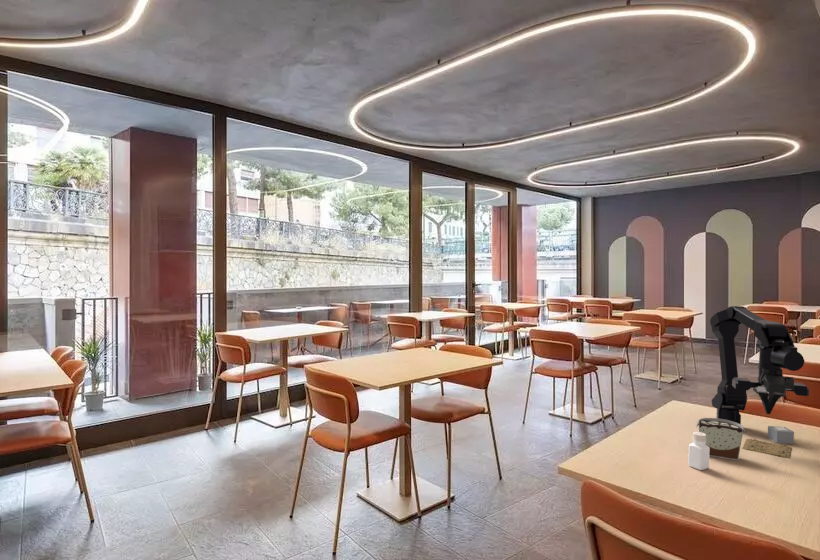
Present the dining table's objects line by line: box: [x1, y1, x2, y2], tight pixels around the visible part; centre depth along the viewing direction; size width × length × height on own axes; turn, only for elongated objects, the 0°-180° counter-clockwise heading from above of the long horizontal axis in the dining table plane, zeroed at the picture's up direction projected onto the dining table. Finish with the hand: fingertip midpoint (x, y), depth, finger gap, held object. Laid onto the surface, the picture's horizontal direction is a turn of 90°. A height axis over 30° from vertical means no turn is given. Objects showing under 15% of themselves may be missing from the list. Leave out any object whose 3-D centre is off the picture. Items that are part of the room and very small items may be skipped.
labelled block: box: [767, 425, 795, 445], centre depth 162 cm, size 5×5×4 cm
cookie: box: [741, 438, 793, 460], centre depth 155 cm, size 12×12×1 cm
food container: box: [695, 417, 746, 461], centre depth 150 cm, size 12×6×10 cm, turn 65°
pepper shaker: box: [687, 431, 710, 471], centre depth 139 cm, size 4×4×10 cm
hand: (768, 413), depth 155 cm, fingers closed
